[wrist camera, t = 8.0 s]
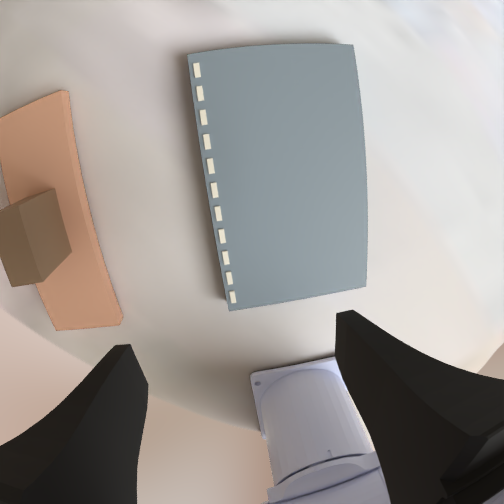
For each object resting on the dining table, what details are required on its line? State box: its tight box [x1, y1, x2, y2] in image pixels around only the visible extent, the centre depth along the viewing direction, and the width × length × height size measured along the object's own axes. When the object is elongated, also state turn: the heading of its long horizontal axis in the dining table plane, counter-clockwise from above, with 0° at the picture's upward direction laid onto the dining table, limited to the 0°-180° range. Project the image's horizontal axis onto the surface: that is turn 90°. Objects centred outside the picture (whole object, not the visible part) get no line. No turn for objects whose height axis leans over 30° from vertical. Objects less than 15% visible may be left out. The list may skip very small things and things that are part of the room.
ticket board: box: [187, 43, 368, 311], centre depth 17 cm, size 15×9×1 cm, turn 7°
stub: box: [0, 90, 123, 331], centre depth 14 cm, size 15×5×5 cm, turn 7°
